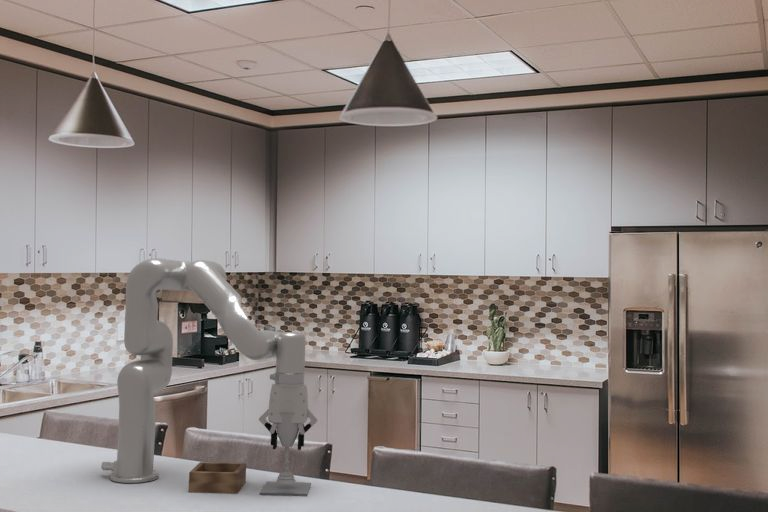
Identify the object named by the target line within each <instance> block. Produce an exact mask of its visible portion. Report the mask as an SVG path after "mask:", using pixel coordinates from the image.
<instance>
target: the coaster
mask: <svg viewBox="0 0 768 512" xmlns="http://www.w3.org/2000/svg"><path fill="white" fill-rule="evenodd" d="M310 486H311V487H312V482H305V481H304V482H303V481H302V482H299V481H296V482H294V483H278V482H276V481H266V482H265V483H264V485H263V487H262V488H261V490H260V491H259V496H283V497H284V496H287V497H292V496H293V497H308V494H309V492H310V489H311V487H310Z"/></svg>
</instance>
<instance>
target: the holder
mask: <svg viewBox="0 0 768 512" xmlns="http://www.w3.org/2000/svg"><path fill="white" fill-rule="evenodd" d="M246 476H247V463H246V462H219V461H218V462H217V461H216V462H213V461H211V462H210V461H208V462H207V461H200V462H199V463H198V464H196V466H195V467H193V468H192V469H191V470H190V471H189V472H188V493H202V494H203V493H204V494H208V493H209V494H235V495H236V494H238V493H239V492H240V491H241V489H242V488H243V487H244V485H245V484H246V481H247V479H246V478H247V477H246ZM244 483H245V484H244ZM241 487H242V488H241Z"/></svg>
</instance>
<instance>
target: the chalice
mask: <svg viewBox="0 0 768 512" xmlns="http://www.w3.org/2000/svg"><path fill="white" fill-rule="evenodd" d="M279 414H280V415H281V417H282V423H280V424H277V428H276V430H277V433H278V434H277V438H278V439H279V442H280V444H281V446H282V447H283V448H284V449H285V452H284V454H283V456H284V458H285V459H284V461H283V464H284V469H283V470H282V471H280V472H279V474H278V476H277V479H276V480H275V482H278V483H294V482H297V481H296V479H295V476H294V473H293V472H292V471H290V469H289V464H290V463H291V461H290V460H289V458H290V456H291V454H290V448H292V447H293V445H294V443H295V442H296V439H298V434H299V432H300V431H299V428H298V425H297V424H293V423H292V417H293V415H294V414H295V413H293V414H286V413H279Z"/></svg>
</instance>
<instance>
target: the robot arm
mask: <svg viewBox="0 0 768 512" xmlns="http://www.w3.org/2000/svg"><path fill="white" fill-rule="evenodd" d="M160 290H163V291H185V292H186V291H187V292H193V293H194V295H196V297H197V298H198V299H199V300H200V301H201V302H202V303H203V304H204V305H205V306H206V307H207V308H208V309H209V311H210V312H211V313H212V314H213V316H214V317H216V319H217V323H218V324H219V326H220V327H221V329H222V332H223V334H224V335H225V336H226V337H227V339H228V340H229V341H230V342H231V344H233V345H234V347H235V348H236V349H237V350H238V351H239V352H240V354H242V355H243V356H244V357H246V358H248V359H249V360H252V361H260V360H266V359H270V358H275V372H274V373H273V374H271V373H270V374H269V380H272V381H274V383H272V385H271V389H270V393H269V401H268V409H267V410H266V411H264V413H262V415H260V417H259V418H258V421H259V422H260V423H261V424H262V425H263V426H264V427H265V428H266V429H267V431H268V432H269V433H270V446H272V450H276V449H277V448H278V433H277V424H280V423H282V417H281V415H280V414H279V413H286V414H293V413H295V414H294V415H293V417H292V423H293V424H297V425H298V428H299V432H298V435H297V451H301V449H302V447H304V446H305V434H306V433H307V432H308V431H309V429H311V428H312V427H313V426H315V424H317V422H318V418H317V417H316V416H315V415H314V414H313V413H312V411H311V410H310V409H309V396H308V395H309V393H308V387H307V384H305V365H306V363H305V362H306V342H307V341H306V335H305V333H302V332H298V331H297V332H296V331H284V332H283V331H282V332H280V331H275V330H269V329H267V330H266V329H262V330H260V329H258V328H257V326H255V324H254V323H253V322H252V321H251V320H250V319H249V317H248V316H247V315H246V314H245V312H244V309H243V307H242V296H241V295H240V294H239V292H238V291H237V290H236V289H235V288H234V287H233V286H232V285H231V284H230V283H229V282H228V281H227V273H226V270H225V269H224V267H223V266H222V265H221V264H220V263H218V262H215V261H212V260H211V261H210V260H203V259H200V260H199V259H198V260H194V261H183V260H176V259H175V260H174V259H166V258H160V257H159V258H157V257H156V258H149V259H145V260H142V261H141V262H139V263H138V264H136V265H135V266H134V267H133V268H132V269H131V270H130V272H129V274H128V276H127V279H126V283H125V313H124V333H123V334H124V338H123V340H124V341H123V344H124V347H125V349H126V351H127V352H128V353H129V354H131V355H134V356H140V360H135V361H134V360H133V361H131V362H129V363H127V364H126V365H124V366H123V367H122V368H121V369H120V371H119V373H118V375H117V382H116V384H117V392H118V405H119V407H118V431H117V432H118V435H117V452H116V453H117V456H116V460H114V461H113V462H110V461H103V462H101V465H100V466H101V470H103V471H111V472H112V473H110V474H109V475H110V476H109V479H110V480H111V481H113V482H116V483H121V484H122V483H123V484H136V483H137V484H140V483H147V482H152V481H155V480H158V478H159V476H160V472H159V471H157V470H154V463H155V462H154V460H155V443H156V442H155V441H156V440H155V439H156V438H155V437H156V436H155V435H156V413H157V411H156V409H157V408H156V403H155V402H156V401H155V396H154V393H158V392H161V391H163V390H164V389H166V388H167V386H169V384H170V382H171V379H172V372H173V352H174V351H173V350H174V349H173V348H174V346H173V345H174V339H173V334H172V331H171V329H170V327H169V326H168V325H167V323H165V322H164V321H161V320H158V315H159V313H158V312H159V305H158V299H157V298H158V297H157V296H156V292H157V291H160ZM267 418H268V419H267ZM308 419H309V420H310V421H309V422H308V423H307V420H308ZM271 423H272V424H271ZM305 423H306V424H305Z"/></svg>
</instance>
